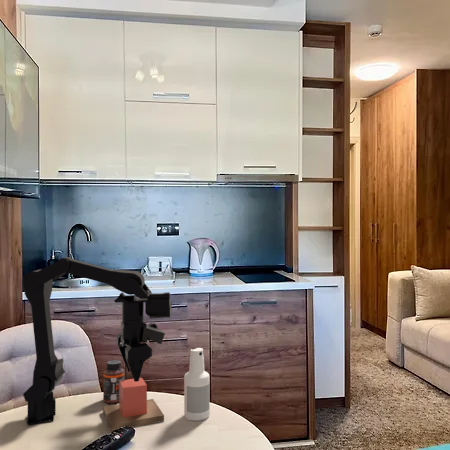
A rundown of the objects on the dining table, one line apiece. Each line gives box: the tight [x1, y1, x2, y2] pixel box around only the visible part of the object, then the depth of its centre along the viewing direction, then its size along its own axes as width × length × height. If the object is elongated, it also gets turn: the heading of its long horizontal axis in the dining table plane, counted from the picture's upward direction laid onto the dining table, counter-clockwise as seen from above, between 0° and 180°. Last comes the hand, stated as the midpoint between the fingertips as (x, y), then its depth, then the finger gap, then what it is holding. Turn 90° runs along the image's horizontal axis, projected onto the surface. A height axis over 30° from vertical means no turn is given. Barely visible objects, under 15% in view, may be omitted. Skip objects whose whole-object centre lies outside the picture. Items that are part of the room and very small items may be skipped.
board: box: [102, 398, 165, 431], centre depth 119 cm, size 14×12×2 cm
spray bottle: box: [183, 347, 211, 422], centre depth 119 cm, size 7×7×18 cm
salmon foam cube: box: [118, 377, 148, 417], centre depth 119 cm, size 6×6×8 cm
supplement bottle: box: [102, 359, 125, 404], centre depth 130 cm, size 6×6×11 cm
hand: (133, 376), depth 119 cm, fingers open, 8 cm apart
